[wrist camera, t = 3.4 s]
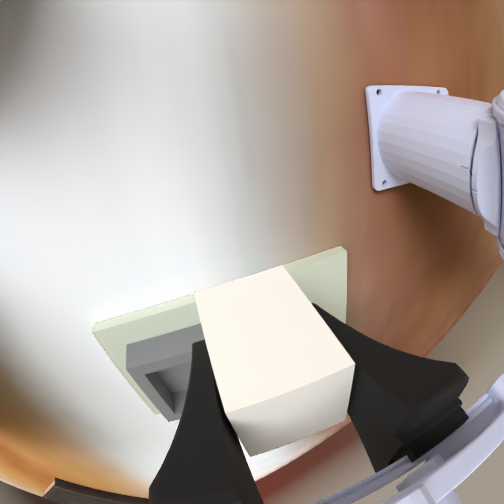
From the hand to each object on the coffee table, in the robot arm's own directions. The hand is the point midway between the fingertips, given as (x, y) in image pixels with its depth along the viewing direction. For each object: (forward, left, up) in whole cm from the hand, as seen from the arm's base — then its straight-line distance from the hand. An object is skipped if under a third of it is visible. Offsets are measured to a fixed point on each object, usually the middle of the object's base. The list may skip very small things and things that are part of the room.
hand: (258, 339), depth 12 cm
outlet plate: (+1, +9, -9) cm, 13 cm away
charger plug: (0, 0, -2) cm, 2 cm away
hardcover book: (+40, +47, -10) cm, 62 cm away
